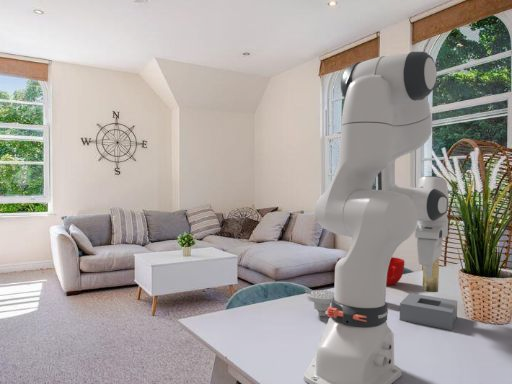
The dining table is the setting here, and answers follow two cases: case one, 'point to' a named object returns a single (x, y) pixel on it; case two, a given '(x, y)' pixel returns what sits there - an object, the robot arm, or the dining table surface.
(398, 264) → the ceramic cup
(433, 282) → the brass pipe
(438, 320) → the fitting block
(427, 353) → the dining table surface
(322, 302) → the showerhead
